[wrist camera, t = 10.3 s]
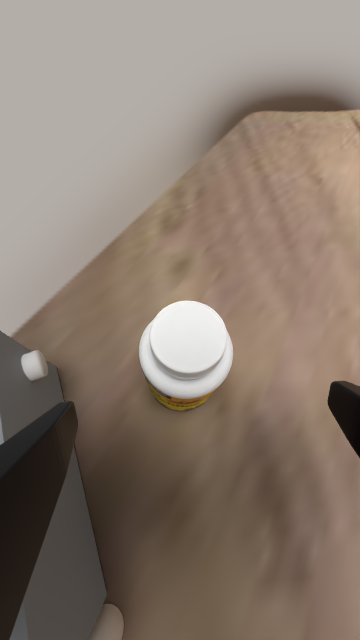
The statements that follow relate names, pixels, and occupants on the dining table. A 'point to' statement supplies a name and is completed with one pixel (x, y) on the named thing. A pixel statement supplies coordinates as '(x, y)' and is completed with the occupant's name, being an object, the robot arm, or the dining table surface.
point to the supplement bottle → (185, 354)
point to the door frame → (108, 624)
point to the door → (68, 518)
